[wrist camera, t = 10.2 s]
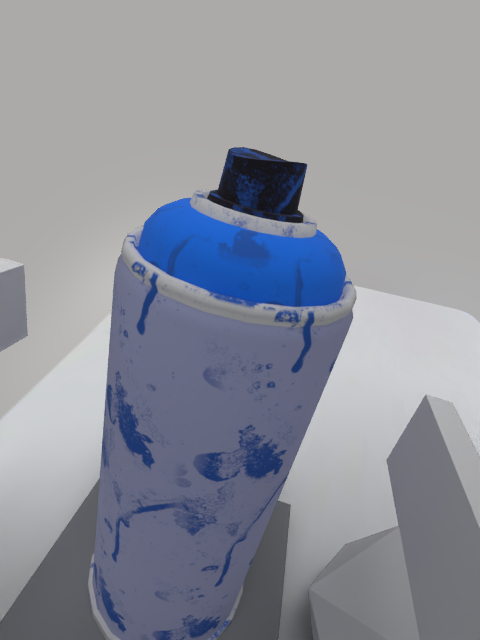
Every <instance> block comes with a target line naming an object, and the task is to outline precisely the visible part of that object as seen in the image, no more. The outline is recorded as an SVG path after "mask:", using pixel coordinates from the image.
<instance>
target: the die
mask: <svg viewBox="0 0 480 640" xmlns="http://www.w3.org/2000/svg"><path fill="white" fill-rule="evenodd" d="M308 593H309V604H310V615H311V626H312V637H313V640H420V638H419V632H418V627H417V621H416V616H415V611H414V605H413V600H412V594H411V589H410V583H409V578H408V573H407V567H406V562H405V556H404V551H403V546H402V540H401V535H400V529H399V526H397V527H394V528H391V529H388V530H385V531H382V532H379V533H377V534H374V535H371V536H368V537H365V538H362V539H359V540H356V541H354V542H351V543H348V544H345V545H344V546H343V548H342V549H341V550H340V551H339V552H338V553H337V555H336V556H335V557H334V558H333V559H332V561H331V562H330V563H329V564H328V565H327V567H326V568H325V569H324V570H323V571H322V572H321V574H320V575H319V576H318V577H317V578H316V580H315V581H314V582H313V583H312V584H311V585H310V587H309V588H308Z"/></svg>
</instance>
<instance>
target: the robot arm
mask: <svg viewBox="0 0 480 640" xmlns="http://www.w3.org/2000/svg"><path fill="white" fill-rule="evenodd" d="M26 315H27V314H26V295H25V274H24V265H23V264H21V263H17V262H14V261H11V260H8V259H5V258H2V259H0V352H1V351H2V350H4V349H6V348H7V347H9V346H11V345H13V344H14V343H16V342H18V341H19V340H21V339H23V338H25V337H26V336H28V335H27V316H26ZM387 465H388V470H389V475H390V481H391V486H392V492H393V497H394V502H395V508H396V513H397V519H398V524H399V529H400V535H401V540H402V546H403V551H404V556H405V562H406V567H407V573H408V578H409V583H410V589H411V594H412V600H413V605H414V611H415V616H416V621H417V627H418V632H419V638H420V640H480V457H479V455H478V453H477V451H476V449H475V447H474V445H473V443H472V441H471V439H470V437H469V435H468V433H467V431H466V429H465V427H464V425H463V423H462V421H461V419H460V417H459V415H458V413H457V411H456V409H455V407H454V405H453V403H451V402H448V401H445V400H442V399H439V398H436V397H433V396H429V395H425V397H424V398H423V400H422V402H421V403H420V405H419V407H418V408H417V410H416V412H415V413H414V415H413V417H412V418H411V420H410V422H409V423H408V425H407V427H406V428H405V430H404V432H403V433H402V435H401V437H400V438H399V440H398V442H397V443H396V445H395V447H394V448H393V450H392V452H391V454H390V455H389V457H388V459H387Z"/></svg>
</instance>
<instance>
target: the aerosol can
mask: <svg viewBox="0 0 480 640" xmlns="http://www.w3.org/2000/svg"><path fill="white" fill-rule="evenodd" d="M306 169H307V164H304V163H298V162H289V161H286V160H283V159H281V158H278V157H275V156H272V155H270V154H267V153H264V152H261V151H257V150H254V149H248V148H244V147H242V148H231V149H229V151H228V154H227V158H226V162H225V166H224V169H223V174H222V177H221V181H220V184H219V188H218V190H198V191H196V192H194V194H193V196H192V198H184V199H180V200H178V201H175V202H172V203H169V204H166V205H164V206H162V207H160V208H158V209H157V210H156V211H155V212H154V213H153V214H152V215H151V216H150V217H149V218H148V220H147V221H146V222H145V224H144V226H140V227H138V228H136V229H135V230H133V231H131V232H129V233H128V234H127V236H126V237H125V239H124V243H123V247H122V251H121V253H122V254H121V255H120V257H119V258H118V262H117V265H116V270H115V276H114V289H113V303H112V317H111V331H110V344H109V358H108V372H107V386H106V400H105V414H104V427H103V441H102V455H101V469H100V483H99V497H98V510H97V524H96V538H95V550H94V553H93V555H92V559H91V566H90V573H89V580H88V593H89V599H90V605H91V610H92V616H93V618H94V620H95V622H96V623H97V625H98V627H99V629H100V630H101V632H102V634H103V636H104V637H105V639H106V640H217V639H218V638H219V637H220V636H221V635H222V633H223V632H224V631H225V630H226V628H227V627H228V626H229V625H230V623H231V621H232V619H233V616H234V614H235V611H236V609H237V606H238V604H239V601H240V598H241V596H242V593H243V583H244V579H245V577H246V575H247V572H248V570H249V567H250V565H251V563H252V560H253V558H254V555H255V553H256V551H257V548H258V546H259V543H260V541H261V539H262V536H263V534H264V531H265V529H266V527H267V524H268V522H269V519H270V517H271V515H272V512H273V510H274V507H275V505H276V503H277V500H278V498H279V495H280V493H281V491H282V488H283V486H284V483H285V481H286V479H287V476H288V474H289V471H290V469H291V467H292V464H293V462H294V459H295V457H296V455H297V452H298V450H299V447H300V445H301V443H302V440H303V438H304V435H305V433H306V431H307V428H308V426H309V424H310V421H311V419H312V416H313V414H314V412H315V409H316V407H317V404H318V402H319V400H320V397H321V395H322V392H323V390H324V388H325V385H326V383H327V380H328V378H329V376H330V373H331V371H332V368H333V366H334V364H335V361H336V359H337V356H338V354H339V352H340V349H341V347H342V344H343V342H344V340H345V337H346V335H347V332H348V330H349V327H350V325H351V322H352V319H353V312H352V308H353V305H354V303H355V300H356V290H355V288H354V286H353V285H352V282H351V281H350V279H349V278H348V277H347V276H346V271H345V268H344V264H343V261H342V258H341V254H340V253H339V251H338V249H337V247H336V246H335V245H334V244H333V243H332V242H331V241H330V240H329V239H328V238H327V237H326V236H325V235H324V234H323V233H322V232H320V231H319V230H317V223H316V221H315V220H314V219H312V218H311V217H309V216H308V215H306V214H303V213H301V212H300V211H298V210H297V209H298V205H299V200H300V196H301V191H302V187H303V182H304V178H305V173H306Z"/></svg>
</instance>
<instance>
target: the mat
mask: <svg viewBox="0 0 480 640" xmlns="http://www.w3.org/2000/svg"><path fill="white" fill-rule="evenodd" d="M99 483H100V479H99V480H98V482H97V483H96V484H95V486H94V487H93V489H92V490H91V492H90V493H89V495H88V496H87V498H86V499H85V500H84V502H83V503H82V505H81V506H80V508H79V509H78V511H77V512H76V513H75V515H74V516H73V518H72V519H71V521H70V522H69V524H68V525H67V527H66V528H65V529H64V531H63V532H62V534H61V535H60V537H59V538H58V540H57V541H56V542H55V544H54V545H53V547H52V548H51V550H50V551H49V553H48V554H47V556H46V557H45V558H44V560H43V561H42V563H41V564H40V566H39V567H38V569H37V570H36V571H35V573H34V574H33V576H32V577H31V579H30V580H29V582H28V583H27V585H26V586H25V587H24V589H23V590H22V592H21V593H20V595H19V596H18V598H17V599H16V601H15V602H14V603H13V605H12V606H11V608H10V609H9V611H8V612H7V614H6V615H5V616H4V618H3V619H2V621H1V622H0V640H106V639H105V637H104V636H103V634H102V632H101V630H100V629H99V627H98V625H97V623H96V622H95V620H94V618H93V616H92V610H91V605H90V599H89V593H88V580H89V573H90V566H91V559H92V555H93V553H94V550H95V538H96V524H97V510H98V497H99ZM289 516H290V505H289V504H286V503H283V502H281V501H278V500H277V503H276V505H275V507H274V510H273V512H272V515H271V517H270V519H269V522H268V524H267V527H266V529H265V531H264V534H263V536H262V539H261V541H260V543H259V546H258V548H257V551H256V553H255V555H254V558H253V560H252V563H251V565H250V567H249V570H248V572H247V575H246V577H245V579H244V583H243V593H242V596H241V598H240V601H239V604H238V606H237V609H236V611H235V614H234V616H233V619H232V621H231V623H230V625H229V626H228V627H227V628H226V630H225V631H224V632H223V633H222V635H221V636H220V637H219V638H218V639H217V640H278V636H279V626H280V615H281V604H282V593H283V582H284V571H285V560H286V549H287V538H288V527H289Z"/></svg>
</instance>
